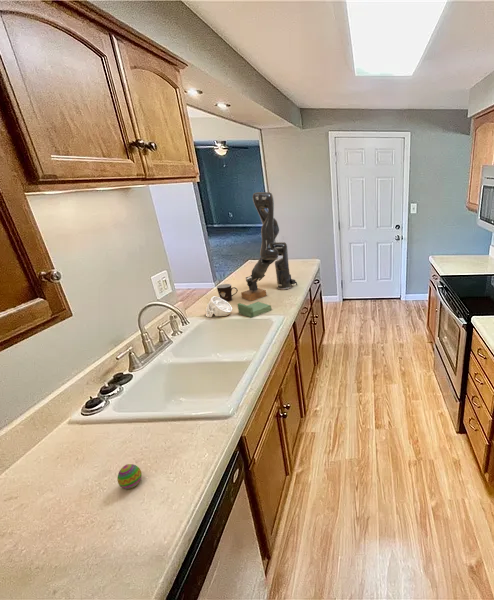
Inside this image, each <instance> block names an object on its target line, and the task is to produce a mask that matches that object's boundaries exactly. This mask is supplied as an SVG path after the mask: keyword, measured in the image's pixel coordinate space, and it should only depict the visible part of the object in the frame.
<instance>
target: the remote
mask: <svg viewBox="0 0 494 600" xmlns="http://www.w3.org/2000/svg"><path fill="white" fill-rule="evenodd" d="M247 277H248V278H249V277H250V275H249V276H247ZM250 281H251V280H250ZM258 288H259V287H258V282H257V281H256V280H255V281H254V282H252V284H251V285H250V286H248V290H252V291H256V290H258Z"/></svg>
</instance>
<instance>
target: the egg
mask: <svg viewBox="0 0 494 600" xmlns="http://www.w3.org/2000/svg"><path fill="white" fill-rule="evenodd" d="M142 477H143V473H142V469H141V468H140V467H139V466H138V465H137V464H133V463H127V464H125V465H123V466H122V467H121V468H120V469H119V471H118V474H117V483H118V485H119V487H121V488H122V489H124V490H130V489H133V488H135V487H137V486H138V485H139V484H140V483H141V480H142Z"/></svg>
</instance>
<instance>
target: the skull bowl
mask: <svg viewBox="0 0 494 600" xmlns="http://www.w3.org/2000/svg"><path fill="white" fill-rule="evenodd" d="M233 309H234V308H233V307H232V305H231V304H230V303H229V302H227V301H225V300H223V299H222V298H220V296H215V295H214V296H212V297H211V298H210V299H209V300H208V302H207V305H206V308H205V309H204V311H205V317H207V318H212V317H213V316H215V317H227V316H228V315H230V314H231V313H232V312H233Z"/></svg>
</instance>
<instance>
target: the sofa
mask: <svg viewBox="0 0 494 600" xmlns="http://www.w3.org/2000/svg"><path fill="white" fill-rule="evenodd" d="M236 305H237V311H238V314H239V315H243V316H246V317H248V318H255V317H257V316H259V315H262V314H265V313H268V312H270V311H272V305H271V304H267V303H264V302H261V301H255V302H253V303H250V304H243V303H240V302H239V303H237V304H236Z"/></svg>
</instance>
